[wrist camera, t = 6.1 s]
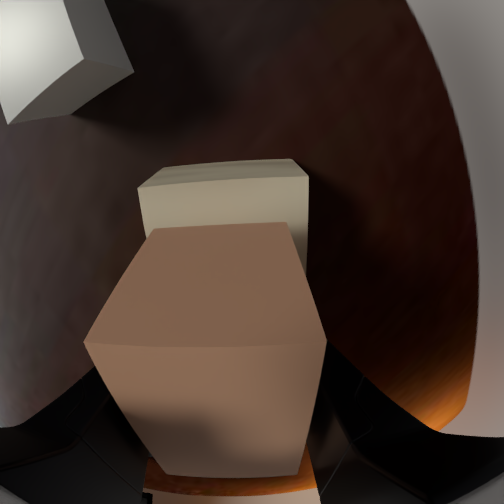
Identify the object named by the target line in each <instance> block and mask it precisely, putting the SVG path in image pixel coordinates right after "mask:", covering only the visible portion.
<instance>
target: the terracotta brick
mask: <svg viewBox="0 0 504 504" xmlns="http://www.w3.org/2000/svg"><path fill="white" fill-rule="evenodd" d="M326 343H327V340H326V337H325V333H324V330H323V327H322V324H321V321H320V318H319V315H318V312H317V309H316V306H315V303H314V300H313V297H312V294H311V291H310V288H309V285H308V282H307V279H306V276H305V273H304V270H303V267H302V264H301V262H300V259H299V256H298V253H297V250H296V247H295V245H294V242H293V239H292V236H291V233H290V231H289V228H288V225H287V222H268V223H244V224H223V225H204V226H187V227H170V228H155V229H153V231H152V232H151V233H150V235H149V236H148V238H147V239H146V241H145V242H144V244H143V245H142V247H141V248H140V250H139V251H138V253H137V254H136V256H135V257H134V259H133V260H132V262H131V263H130V265H129V266H128V268H127V269H126V271H125V273H124V274H123V276H122V277H121V279H120V281H119V282H118V284H117V285H116V287H115V289H114V290H113V292H112V293H111V295H110V297H109V298H108V300H107V302H106V303H105V305H104V307H103V308H102V310H101V312H100V314H99V315H98V317H97V319H96V321H95V322H94V324H93V326H92V328H91V329H90V331H89V333H88V335H87V337H86V338H85V340H84V344H85V346H86V348H87V350H88V352H89V354H90V356H91V358H92V360H93V362H94V364H95V366H96V368H97V370H98V372H99V374H100V375H101V377H102V379H103V381H104V383H105V384H106V386H107V388H108V390H109V391H110V393H111V395H112V396H113V398H114V400H115V401H116V403H117V405H118V406H119V408H120V409H121V411H122V413H123V414H124V416H125V417H126V419H127V420H128V422H129V423H130V425H131V426H132V428H133V429H134V431H135V432H136V434H137V435H138V437H139V438H140V439H141V441H142V442H143V444H144V445H145V446H146V448H147V449H148V450H149V452H150V453H151V454H152V456H153V457H154V458H155V460H156V461H157V462H158V464H159V465H160V466H161V467H162V469H163V470H164V471H165V472H166V474H171V475H181V476H194V477H213V478H254V477H274V476H286V475H297V473H298V469H299V466H300V462H301V458H302V455H303V451H304V447H305V443H306V439H307V435H308V431H309V427H310V422H311V418H312V414H313V409H314V405H315V400H316V396H317V391H318V386H319V381H320V376H321V371H322V365H323V360H324V354H325V349H326Z"/></svg>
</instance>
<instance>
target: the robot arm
mask: <svg viewBox="0 0 504 504" xmlns="http://www.w3.org/2000/svg"><path fill="white" fill-rule="evenodd" d="M326 340H327V339H326ZM306 442H307V446H308V450H309V455H310V459H311V463H312V467H313V471H314V476H315V480H316V484H317V488H318V493H319V496H320V501H321V504H504V437H477V436H464V435H454V434H445V433H441V432H438V431H435V430H433V429H431V428H429V427H428V426H426V425H425V424H423V423H422V422H421V421H419V420H418V419H416V418H415V417H414V416H412V415H411V414H410V413H408V412H407V411H406V410H404V409H403V408H401V407H400V406H399V405H397V404H396V403H395V402H394V401H392V400H391V399H390V398H389V397H387V396H386V395H385V394H384V393H382V392H381V391H380V390H379V389H378V388H377V387H376V386H375V385H374V384H373V383H371V382H370V381H369V380H368V379H367V378H366V377H364V375H363V374H362V373H361V372H360V371H359V370H358V369H357V368H356V367H355V366H354V365H353V364H352V363H351V362H350V361H349V360H348V359H347V358H346V357H345V356H344V355H342V354H341V353H340V352H339V351H338V350H337V349H336V348H335V347H334V346H333V345H332V344H331V343H330V342H329V341H328V340H327V343H326V349H325V354H324V360H323V365H322V371H321V376H320V381H319V386H318V391H317V396H316V400H315V405H314V409H313V414H312V418H311V422H310V427H309V431H308V435H307V439H306ZM148 456H150V457H153V456H152V454H151V453H150V452H149V450H148V449H147V448H146V446H145V445H144V444H143V442H142V441H141V439H140V438H139V437H138V435H137V434H136V432H135V431H134V429H133V428H132V426H131V425H130V423H129V422H128V420H127V419H126V417H125V416H124V414H123V413H122V411H121V409H120V408H119V406H118V405H117V403H116V401H115V400H114V398H113V396H112V395H111V393H110V391H109V390H108V388H107V386H106V384H105V383H104V381H103V379H102V377H101V375H100V374H99V372H98V370H97V368H96V366H94V367H93V368H92V369H91V370H90V371H89V372H88V373H86V374H85V375H84V376H83V377H82V379H80V380H78V381H77V382H76V383H75V384H74V385H73V386H72V387H70V388H69V389H68V390H67V391H66V392H64V393H63V394H62V395H61V396H59V397H58V398H57V399H55V400H54V401H53V402H52V403H50V404H49V405H47V406H46V407H45V408H43V409H42V410H41V411H39V412H38V413H36V414H35V415H34V416H32V417H31V418H30V419H28V420H27V421H25V422H24V423H22V424H20V425H17V426H13V427H4V428H0V504H152V497H153V495H152V494H150V493H144V492H142V491H143V485H144V479H145V473H146V467H147V462H148Z"/></svg>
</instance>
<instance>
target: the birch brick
mask: <svg viewBox="0 0 504 504" xmlns="http://www.w3.org/2000/svg"><path fill="white" fill-rule="evenodd" d="M138 194H139V200H140V206H141V212H142V217H143V223H144V228H145V233H146V238H148V236H149V235H150V233H151V232H152V231H153V229H155V228H170V227H187V226H204V225H223V224H244V223H268V222H287V225H288V228H289V231H290V233H291V236H292V239H293V242H294V245H295V247H296V250H297V253H298V256H299V259H300V262H301V264H302V267H303V270H304V273H305V276H306V262H307V237H308V197H309V176H308V175H307V174H306V173H305V172H304V171H303V170H302V169H301V168H300V167H299V166H298V165H297V164H296V163H295V162H294V161H293V160H292V159H275V160H250V161H232V162H218V163H205V164H194V165H183V166H174V167H165V168H162V169H161V170H160V171H159V172H157V173H156V174H155V175H153V176H152V177H151V178H150V179H148V180H147V181H146V182H144V183H143V184H142V185H141V186H139V187H138Z"/></svg>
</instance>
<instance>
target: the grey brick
mask: <svg viewBox="0 0 504 504" xmlns="http://www.w3.org/2000/svg"><path fill="white" fill-rule="evenodd" d="M132 73H134V70H133V67H132V65H131V63H130V61H129V58H128V56H127V54H126V51H125V49H124V47H123V44H122V42H121V40H120V37H119V35H118V33H117V30H116V28H115V26H114V23H113V21H112V18H111V16H110V13H109V11H108V9H107V6H106V4H105V1H104V0H1V1H0V103H1V106H2V109H3V112H4V115H5V118H6V121H7V124H8V125H9V124H14V123H19V122H24V121H30V120H36V119H42V118H48V117H55V116H63V115H70V114H72V113H73V112H74V111H76V110H77V109H78V108H80V107H81V106H83V105H84V104H85V103H87V102H88V101H90V100H91V99H93V98H94V97H96V96H97V95H98V94H100V93H101V92H103V91H105V90H106V89H108V88H109V87H111V86H112V85H114V84H116V83H117V82H119V81H120V80H122V79H124V78H125V77H127V76H129V75H130V74H132Z"/></svg>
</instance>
